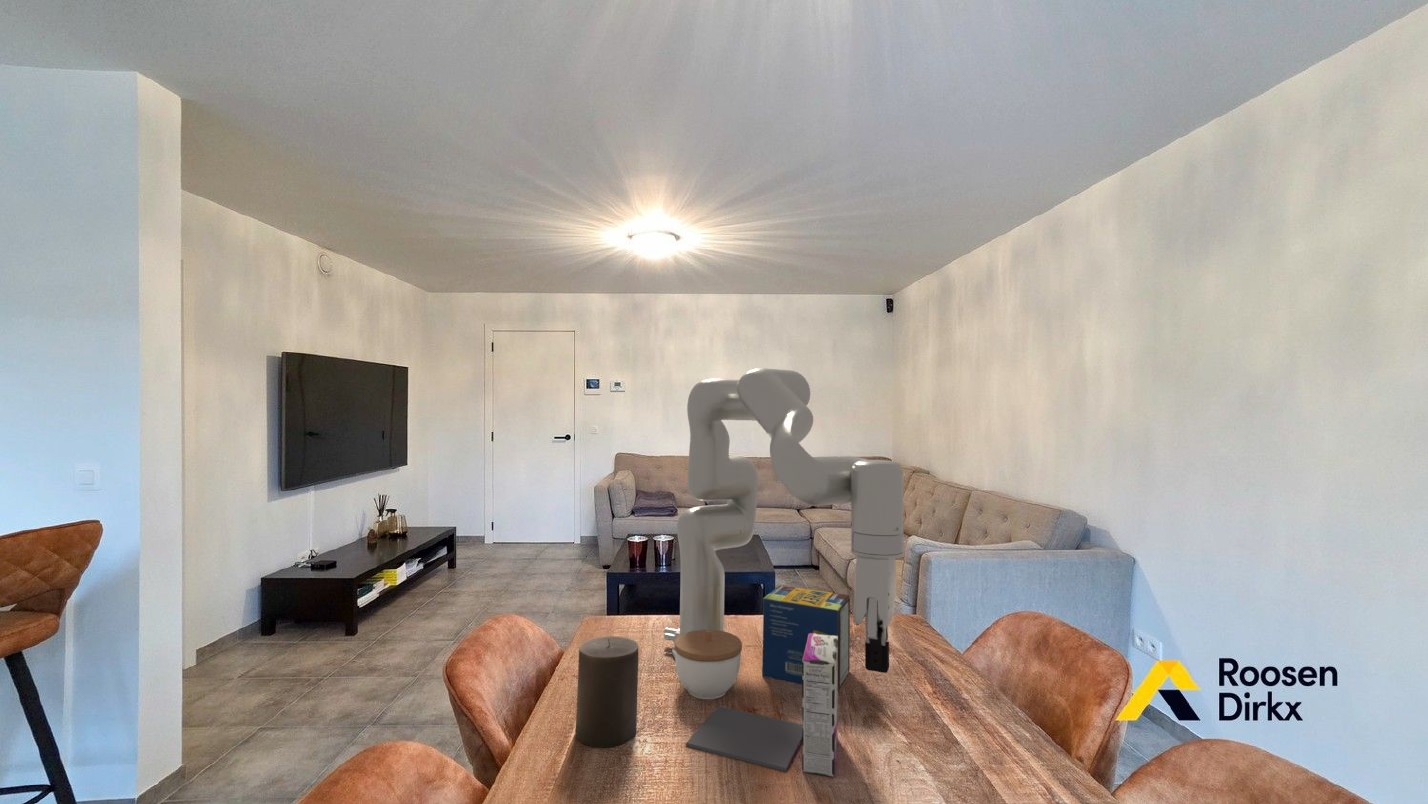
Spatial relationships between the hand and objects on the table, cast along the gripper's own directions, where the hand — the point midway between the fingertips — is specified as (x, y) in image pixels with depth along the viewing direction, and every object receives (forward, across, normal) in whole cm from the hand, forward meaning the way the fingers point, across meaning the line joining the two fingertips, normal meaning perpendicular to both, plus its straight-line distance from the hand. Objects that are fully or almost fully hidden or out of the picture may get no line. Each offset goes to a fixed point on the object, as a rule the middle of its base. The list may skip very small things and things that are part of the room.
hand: (877, 669), depth 87 cm
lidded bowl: (+14, -12, -32) cm, 38 cm away
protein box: (+14, -27, -18) cm, 35 cm away
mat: (+14, 0, -20) cm, 25 cm away
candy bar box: (+15, 0, -8) cm, 17 cm away
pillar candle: (+14, +8, -42) cm, 45 cm away
